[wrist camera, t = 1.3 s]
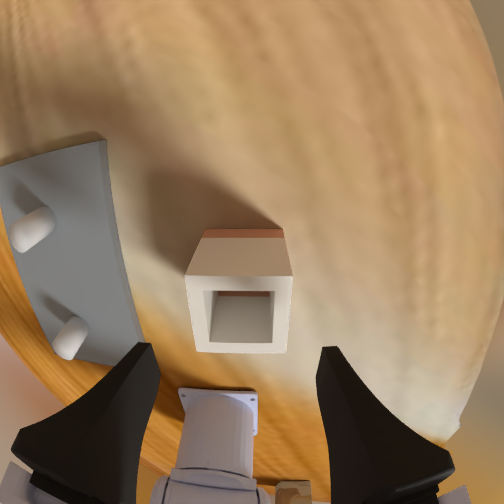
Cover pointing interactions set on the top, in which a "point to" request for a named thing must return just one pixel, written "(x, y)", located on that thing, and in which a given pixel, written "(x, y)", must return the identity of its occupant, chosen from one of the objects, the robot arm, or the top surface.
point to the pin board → (71, 251)
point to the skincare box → (293, 492)
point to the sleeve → (240, 291)
